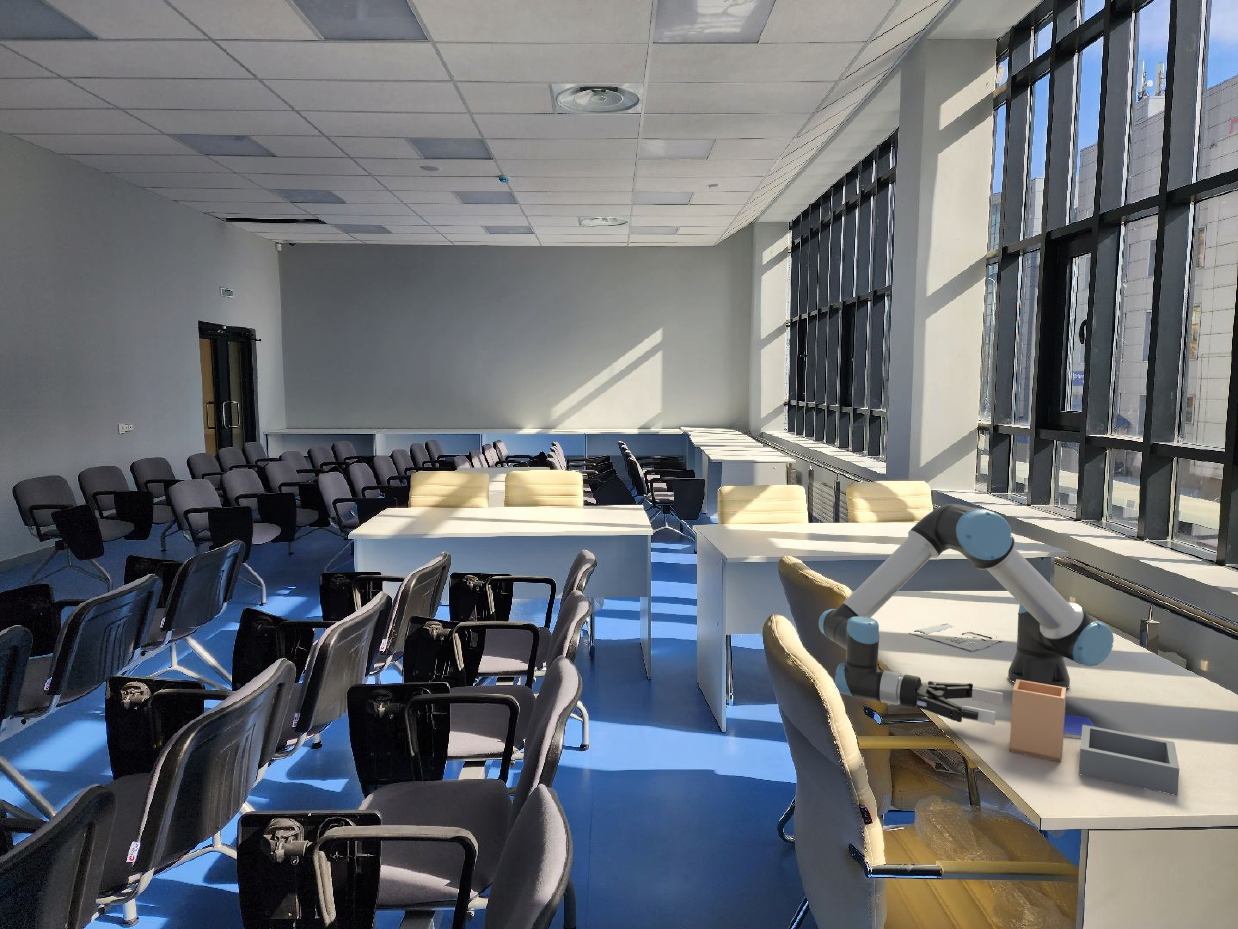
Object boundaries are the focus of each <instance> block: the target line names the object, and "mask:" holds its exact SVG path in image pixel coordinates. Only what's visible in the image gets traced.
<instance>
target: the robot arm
mask: <svg viewBox="0 0 1238 929" xmlns="http://www.w3.org/2000/svg"><path fill="white" fill-rule="evenodd" d="M907 535H908V536H907V539H905V540H904V541H903V542H902V543H901V544H900V545H899V546H898V547H897V548H896V549H895V550H894V551H893V552H892V553H891V554H890V555H889V557H887V559H885V561H884V562H882V564H880V565H879V566H878V567H877V568H876V570H874V572H872V573H871V575H869V576H868V577H867V578H866V579H865V581H863V582H862V583H861V584H860V585H859V586H858V588H856V589H855V590H854V591H853V593H852V594H850V595H849V597H847V599H846V600H844V601H843V603H842V604H841V605H839V606H838V607H837V608H836V609H835V608H831V609H827V610H825V611H824V612H822V614H820V617H819V619H818V628H819V630H820V632H821V634H823V636H825V637H826V638H827V640H830V641H831V642H834V643H836V645H838V646H840V647H841V648H843V649H845V650H846V651H845V662H840V663H839V664H838V666H837V667H836V670H835V677H834V686H835V685H836V687H837V688H838V690H839V692H840V694H842V695H845V696H850V697H853V698H855V699H856V698H859V699H865V700H869V701H874V702H880V703H885V704H886V705H887V706H891V705H895V706H899V705H901V707H902V708H908V709H914V710H916V709H920V710H925V711H927V712H931V713H933V714H936V715H938V716H941V717H944V718H946V719H948V720H951V721H953V722H954V721H955V722H958V723H962V722H963V719H965V720H969V721H973V722H978V723H979V722H980V723H984V724H988V725H993V726H994V725H995V724H996V711H995V710H994V711H993V710H989V709H985V708H984V709H983V708H979V707H974V706H968V705H963V706H961V705H959V704H957V703H955V702H953V701H950V700H952V699H953V700H954V699H971V700H972V701H977V702H982V703H989V704H993V705H998V706H1003V697H1004V693H1003V692H999V691H993V690H988V689H982V688H977V687H976V688H975V687H974V683H971V682H969V683H967V682H966V683H964V682H961V683H960V682H942V681H941V682H940V681H939V682H938V681H932V680H928V681H927V685H924V684H922V679H921V677H920V676H917V675H910V674H902V673H901V672H896V671H889V670H882V669H879V668H878V664H879V662H878V661H879V659H878V658H879V649H880V648H879V645H880V624H879V623H878V622H879V621H877V620H876V619H874V618H872V617H873V616H874V615H876V613H877V612H879V610H880V609H881V608H882V607H883V606H885V604H886V603H887V602H889V600H890V599H891V598H892V597H893V596H894V595H895V594H896V593H897V592H898V591H899V590H901V588H902V587H904V585H905V584H906V583H907V582H908V581H909V580H910V579H911V578H913V577H914V575H915V574H916V573H917V572H918V571H919V570H920V569H921V568H922V567H923V566H924V565H926V563H927V562H928V561H929V560H930V559H931V558H933V559H935V558H938V557H939V556H940V555H941V554H943V552H945V551H948V550H949V549H950V550H953V551H956V552H959V553H960V554H962V555H963V556H964V557H965V558H966V559H967V560H968V561H969V562H970V563H971V564H972V565H973V566H974V567H975V568H976V569H978V570H980V571H981V570H984V571H988V572H989V574H991V575H992V577H994V578H995V579H996V581H997V582H999V584H1000V585H1001V586H1002V587H1003V588H1004V589H1005V590H1006V591H1007V592H1008V593H1009V594H1010V595H1011V597H1013V598H1014V599H1015V600H1017V602H1018V603H1019V605H1018V606H1019V607H1018V611H1017V635H1016V636H1017V638H1016V651H1015V652H1016V653H1015V654H1014V657H1013V658H1012V661H1011V664H1010V666H1009V669H1008V672H1007V673H1008V674H1007V678H1008V677H1009V679H1010V680H1011V681H1014V682H1016V679H1019V680H1024V681H1030V682H1036V683H1042V684H1048V685H1054V686H1059V687H1065V688H1066V689H1067V688H1068V687H1069V688H1070V687H1071V686H1070V684H1071V678H1070V675H1069V671H1068V668H1067V665H1066V661H1065V658H1066V659H1068V660H1071V661H1073V662H1075V663H1076V664H1078V665H1083V666H1086V667H1093V666H1098V665H1100V664H1101V663H1102V664H1103V662H1104V661H1105V660H1107V659H1108V657H1109V656H1110V655H1111V652H1112V649H1113V647H1114V634H1113V631H1112V629H1111V628H1110V627H1109V626H1108V625H1107V624H1105V623H1104V622H1102V621H1100V620H1099V621H1097V620H1095V619H1093V618H1092V617H1091V616H1090V615H1089V613H1088V612H1086V611H1085V609H1083V608H1082V606H1080V605H1079V604H1078V603H1075V602H1070V601H1067V600H1066V599H1065V598H1064V597H1063V595H1061V594H1060V593H1059V592H1058V591H1057V590H1056V589H1055V588H1054V587H1053V586H1052V585H1051V583H1050V582H1048V580H1046V578H1044V576H1043V575H1042V574H1041V573H1040V572H1039V571H1038V570H1037V569H1036V567H1034V566H1033V565H1032V564H1031V563H1030V562H1029V561H1028V560H1027V559H1026V558H1025V557H1024V556H1023V554H1021V553H1020V551H1019V550H1017V549H1016V548H1015V546H1016V540H1015V538H1014V536H1013V535H1012V528H1011V526H1010V524H1009V523H1008V521H1007V520H1006V519H1005V518H1004V517H1003V516H1001V515H1000V514H998V513H996V512H994V511H992V510H989V509H984V508H977V507H973V506H972V507H971V506H968V505H963V504H959V503H948V504H944V505H941V506H939V507H937V508H935V509H933V510H932V511H930V512H929V513H927V514H926V515H925V516H924V517H922V518H921V519H920V520H919V521H917V523H916V524H915V525H914V526H913V527H912V528H910V529H909V530H908V532H907ZM1009 679H1008V680H1009ZM1010 680H1009V681H1010ZM1011 681H1010V682H1011ZM836 687H835V688H836ZM1067 690H1068V689H1067ZM839 692H838V693H839Z"/></svg>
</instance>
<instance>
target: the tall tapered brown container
mask: <svg viewBox="0 0 1238 929" xmlns="http://www.w3.org/2000/svg"><path fill="white" fill-rule="evenodd" d="M1011 696H1012V698H1011V699H1012V700H1011V717H1010V735H1009V736H1010V737H1009V752H1012V753H1016V754H1021V755H1024V754H1026V756H1029V755H1030V757H1035V758H1039V759H1043V760H1048V761H1054V762H1059V763H1061V762H1062V758H1063V757H1062V756H1063V747H1064V736H1063V735H1064V719H1065V715H1066V703H1067V701H1066V700H1067V690H1066V688H1065V687H1059V686H1054V685H1048V684H1042V683H1036V682H1030V681H1024V680H1019V679H1016V682H1015V683H1014V684H1013V687H1012V695H1011Z"/></svg>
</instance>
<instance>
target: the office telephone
mask: <svg viewBox="0 0 1238 929" xmlns="http://www.w3.org/2000/svg"><path fill="white" fill-rule="evenodd" d="M952 627H954V625H952V624H951V623H941V624H937V625H932V626H928V627H923V628H920V629H915V630H913V631H914V632H920V633H923V634H926V635H928V634H930V633H933V632H940V631H942V630H946V629H948V628H952ZM973 637H974V638H978V637H977V636H973ZM997 637H998V636H996V638H997ZM952 638H957V637H951V638H950V639H951V640H950V639H945V640H950V641H951V642H955V643H957V644H961V643H963V642H966V641H969V640H966V639H964V640H965V641H964V640H962V637H961V638H959V639H961V640H959V639H958V638H957V639H953V640H952ZM967 638H968V637H967ZM975 641H976V640H975ZM968 643H971V644H973V643H974V644H978V643H975V642H973V643H972V642H968ZM968 643H965V644H968ZM969 646H970V645H969ZM972 646H973V645H972ZM969 649H970V648H969Z"/></svg>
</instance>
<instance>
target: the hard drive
mask: <svg viewBox="0 0 1238 929" xmlns="http://www.w3.org/2000/svg"><path fill="white" fill-rule="evenodd" d="M1082 725H1087V726H1093V727H1096V726H1095V725H1094V723H1093V722H1092V721H1091V719H1090V718H1089V717H1085V716H1080V715H1079V716H1078V715H1070V714H1065V719H1064V735H1063V738H1070V737H1075V738H1074V739H1079V738H1081V736H1082ZM1065 736H1067V737H1065Z"/></svg>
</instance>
